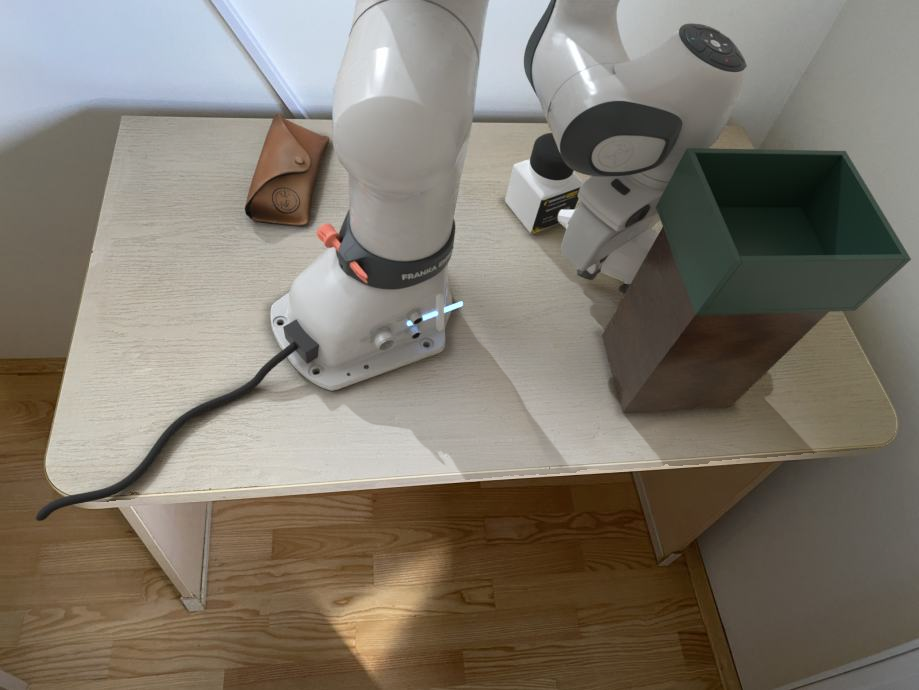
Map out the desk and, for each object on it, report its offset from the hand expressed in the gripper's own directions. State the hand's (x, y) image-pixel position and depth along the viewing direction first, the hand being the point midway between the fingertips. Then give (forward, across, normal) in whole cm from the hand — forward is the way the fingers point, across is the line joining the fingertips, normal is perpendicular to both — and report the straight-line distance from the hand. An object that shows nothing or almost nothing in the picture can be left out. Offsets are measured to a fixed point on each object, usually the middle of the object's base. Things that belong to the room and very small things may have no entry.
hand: (612, 253), depth 85 cm
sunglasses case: (+5, +24, -38) cm, 45 cm away
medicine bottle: (+6, -1, -14) cm, 15 cm away
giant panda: (+4, 0, 0) cm, 4 cm away
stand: (+5, +4, +15) cm, 16 cm away
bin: (-17, +4, +15) cm, 23 cm away
